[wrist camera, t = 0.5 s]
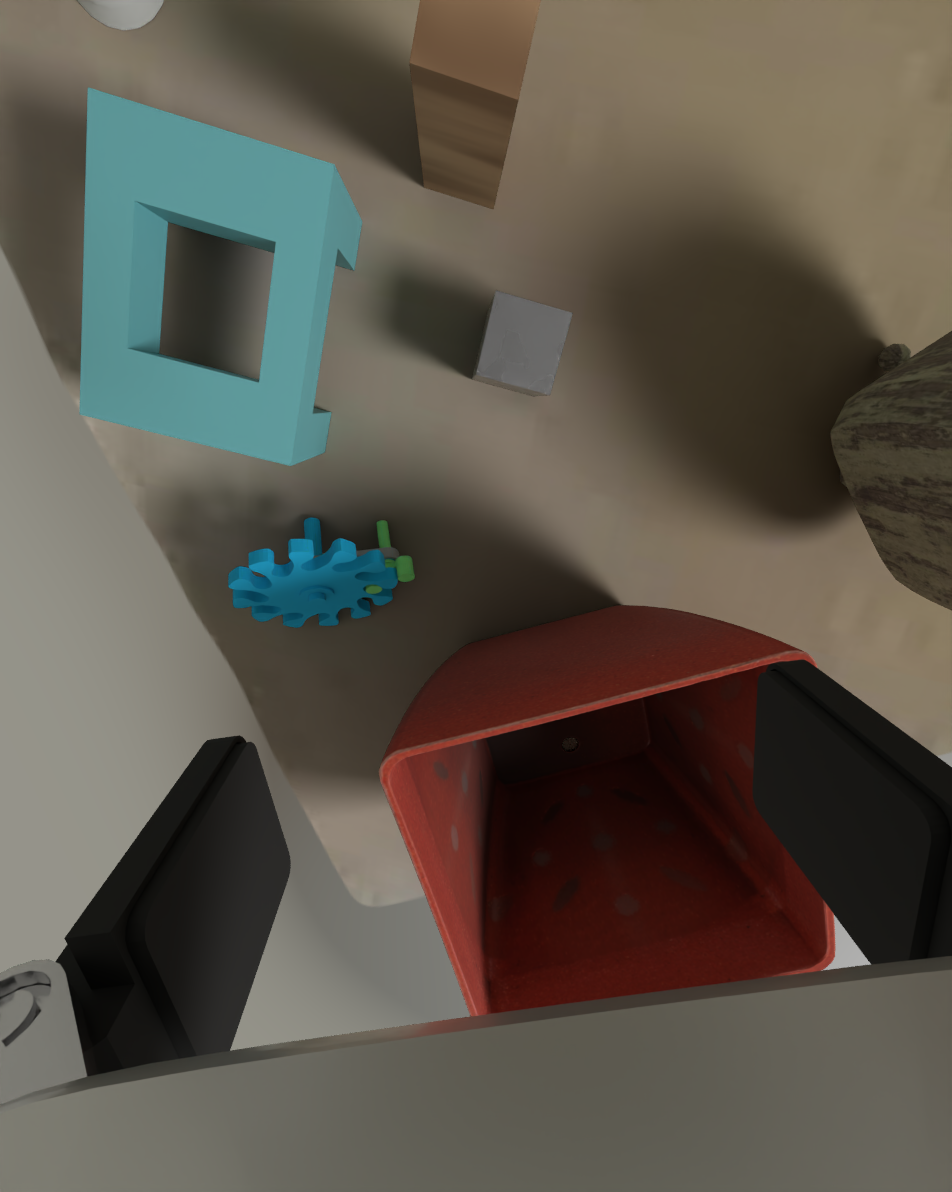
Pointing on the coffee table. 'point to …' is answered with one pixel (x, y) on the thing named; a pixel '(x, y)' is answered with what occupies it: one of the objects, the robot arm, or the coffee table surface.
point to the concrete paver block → (521, 345)
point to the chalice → (122, 12)
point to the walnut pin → (468, 90)
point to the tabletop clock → (904, 465)
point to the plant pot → (600, 813)
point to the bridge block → (137, 266)
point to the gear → (319, 578)
